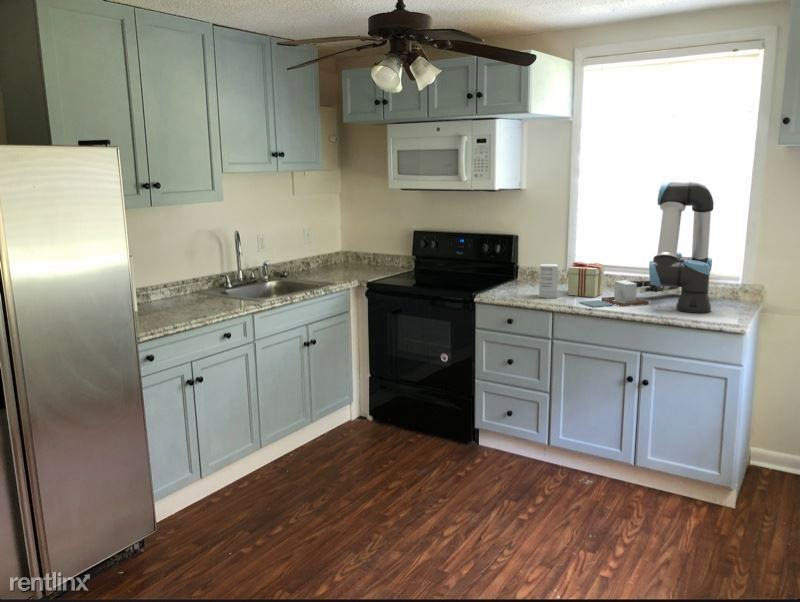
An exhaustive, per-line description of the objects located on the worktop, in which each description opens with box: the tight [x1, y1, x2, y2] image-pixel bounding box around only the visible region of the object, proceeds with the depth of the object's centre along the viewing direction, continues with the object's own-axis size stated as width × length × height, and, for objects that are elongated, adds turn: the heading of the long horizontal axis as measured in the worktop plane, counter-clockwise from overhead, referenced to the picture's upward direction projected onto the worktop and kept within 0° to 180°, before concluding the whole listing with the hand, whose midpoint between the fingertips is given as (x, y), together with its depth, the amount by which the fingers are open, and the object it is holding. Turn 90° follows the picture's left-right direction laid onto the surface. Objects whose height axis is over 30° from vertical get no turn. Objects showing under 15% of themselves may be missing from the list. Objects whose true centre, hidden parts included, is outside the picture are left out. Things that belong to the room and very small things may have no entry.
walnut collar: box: [601, 296, 650, 307], centre depth 336 cm, size 16×16×2 cm
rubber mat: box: [578, 299, 615, 308], centre depth 332 cm, size 12×12×1 cm
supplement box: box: [538, 263, 559, 299], centre depth 352 cm, size 10×9×17 cm
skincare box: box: [613, 279, 638, 303], centre depth 335 cm, size 10×6×10 cm, turn 12°
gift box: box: [567, 261, 605, 298], centre depth 358 cm, size 17×18×17 cm
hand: (629, 287), depth 337 cm, fingers open, 13 cm apart
